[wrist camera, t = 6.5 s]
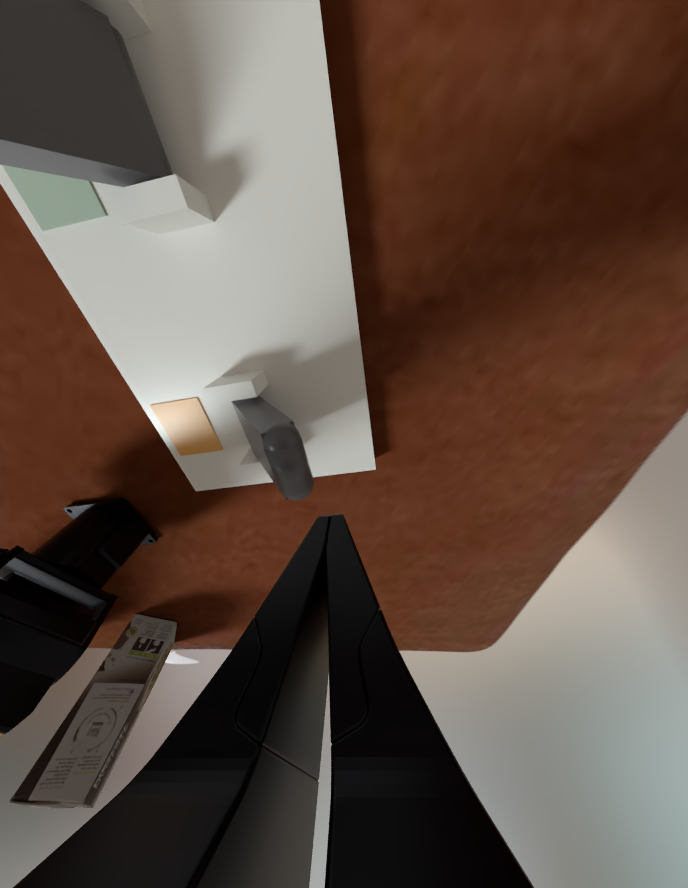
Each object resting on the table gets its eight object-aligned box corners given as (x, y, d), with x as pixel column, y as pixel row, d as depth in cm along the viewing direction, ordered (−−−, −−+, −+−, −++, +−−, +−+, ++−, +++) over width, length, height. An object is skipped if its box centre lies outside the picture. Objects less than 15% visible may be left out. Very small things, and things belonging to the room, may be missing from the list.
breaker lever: (250, 451, 18) (292, 513, 12) (226, 396, 16) (262, 438, 10) (272, 442, 19) (323, 496, 13) (253, 387, 17) (302, 421, 11)
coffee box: (133, 612, 37) (5, 803, 23) (178, 621, 38) (82, 807, 24) (134, 636, 41) (27, 809, 27) (175, 643, 42) (92, 812, 29)
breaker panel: (204, 480, 23) (131, 574, 15) (-45, 60, 11) (-1047, -538, 3) (374, 459, 22) (388, 551, 14) (311, -60, 9) (118, -1907, 1)
